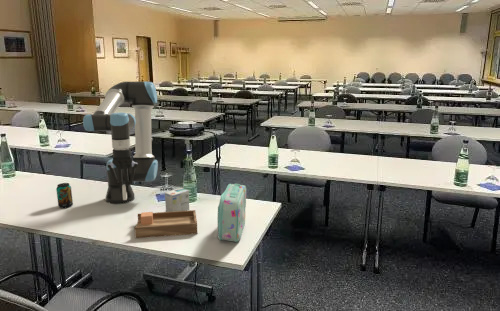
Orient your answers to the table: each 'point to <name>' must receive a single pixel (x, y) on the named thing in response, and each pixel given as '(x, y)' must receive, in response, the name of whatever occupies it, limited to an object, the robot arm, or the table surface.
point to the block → (146, 218)
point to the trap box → (168, 224)
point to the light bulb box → (177, 200)
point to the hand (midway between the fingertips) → (125, 199)
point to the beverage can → (64, 195)
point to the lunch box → (232, 213)
